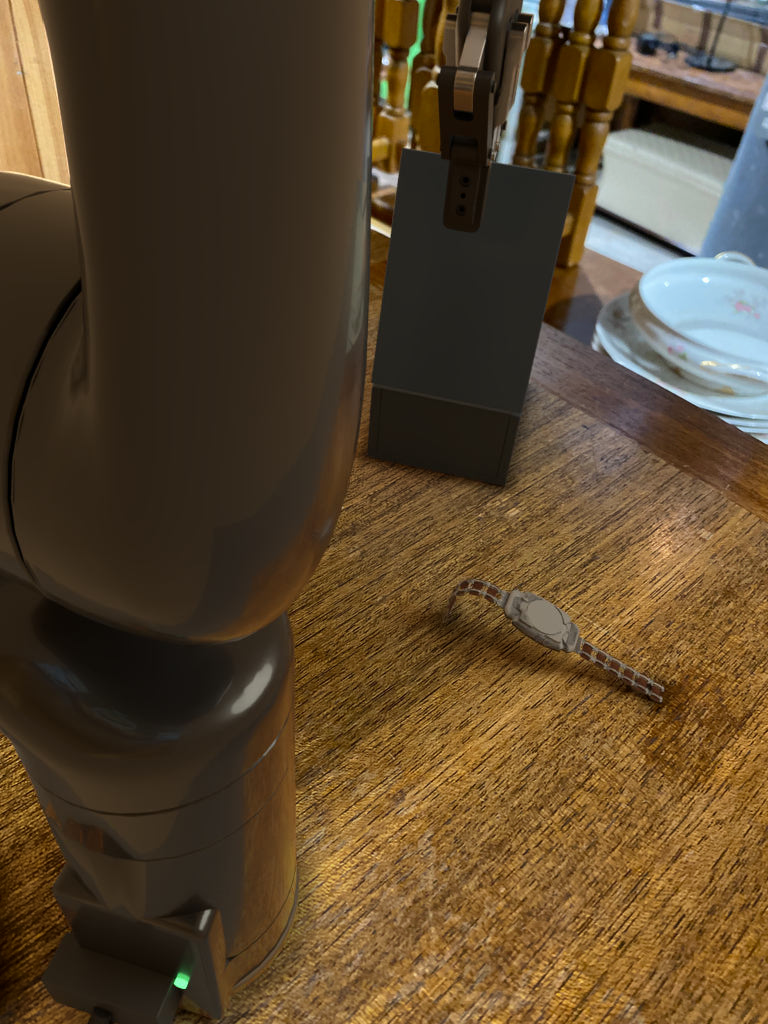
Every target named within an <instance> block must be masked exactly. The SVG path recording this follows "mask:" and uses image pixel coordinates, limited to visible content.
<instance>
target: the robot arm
mask: <svg viewBox="0 0 768 1024" xmlns="http://www.w3.org/2000/svg"><path fill="white" fill-rule="evenodd" d="M37 4H38V8H39V13H40V16H41V21H42V25H43V29H44V33H45V40H46V44H47V45H46V46H47V51H48V57H49V62H50V67H51V73H52V79H53V84H54V89H55V95H56V101H57V106H58V112H59V117H60V124H61V132H62V136H63V144H64V151H65V158H66V165H67V171H68V179H69V184H67V183H63V182H59V181H55V180H52V179H47V178H44V177H40V176H36V175H31V174H27V173H23V172H18V171H10V170H1V169H0V732H1V733H2V735H4V737H6V738H7V739H8V740H9V741H10V742H11V744H12V745H13V748H14V750H15V753H16V755H17V756H18V758H19V760H20V762H21V765H22V766H23V769H24V771H25V773H26V775H27V778H28V781H29V782H30V784H31V787H32V789H33V791H34V793H35V796H36V799H37V801H38V803H39V805H40V807H41V810H42V812H43V814H44V816H45V819H46V821H47V824H48V825H49V828H50V830H51V832H52V834H53V836H54V839H55V841H56V843H57V846H58V847H59V850H60V852H61V855H62V857H63V859H64V861H65V863H64V865H63V867H62V869H61V871H60V872H59V874H58V876H57V878H56V879H55V881H54V883H53V884H52V888H51V892H52V896H53V897H54V899H55V901H56V904H57V905H58V907H59V909H60V911H61V913H62V915H63V917H64V920H65V921H66V923H67V925H68V927H69V928H70V931H71V932H70V931H66V932H65V933H64V935H63V937H62V939H61V941H60V942H59V944H58V946H57V948H56V950H55V952H54V954H53V956H52V957H51V959H50V961H49V963H48V965H47V967H46V969H45V970H44V972H43V974H42V976H41V978H40V982H41V983H42V985H43V986H44V988H45V989H46V991H47V992H48V994H49V995H50V997H51V998H52V1000H53V1002H54V1003H57V1004H60V1005H63V1006H67V1007H69V1008H72V1009H74V1010H77V1011H80V1012H84V1013H85V1014H90V1016H89V1019H88V1021H87V1024H172V1022H173V1020H174V1018H175V1015H176V1013H177V1011H178V1008H179V1009H182V1010H185V1011H187V1012H190V1013H193V1014H196V1015H199V1016H202V1017H206V1018H208V1019H212V1020H215V1021H221V1020H222V1019H224V1018H225V1016H226V1014H227V1011H228V1008H229V1006H230V1003H231V1001H232V999H233V997H234V996H235V994H237V993H239V992H240V991H242V990H244V989H245V988H246V987H248V986H250V985H251V984H252V983H253V982H255V981H256V980H257V979H258V978H259V977H261V975H263V973H264V972H266V970H267V969H268V968H269V967H270V966H271V965H272V964H273V962H274V961H275V960H276V958H277V957H278V956H279V954H280V953H281V951H282V949H283V948H284V946H285V945H286V943H287V940H288V938H289V937H290V935H291V932H292V929H293V927H294V924H295V920H296V917H297V912H298V907H299V899H300V885H299V884H300V876H299V867H298V861H297V859H298V858H297V857H298V856H297V794H296V792H297V791H296V790H297V789H296V785H297V781H296V780H297V779H296V648H295V638H294V631H293V625H292V623H291V622H292V621H291V618H290V615H289V613H288V609H289V608H290V607H291V606H292V604H293V603H295V601H296V600H297V599H298V598H299V596H300V595H301V593H302V592H303V590H304V589H305V588H306V587H307V584H308V583H309V581H310V580H311V579H312V577H313V576H314V575H315V573H316V571H317V569H318V567H319V565H320V564H321V561H322V560H323V557H324V555H325V553H326V551H327V549H328V547H329V545H330V543H331V541H332V539H333V536H334V533H335V530H336V527H337V524H338V522H339V518H340V516H341V513H342V510H343V506H344V503H345V500H346V496H347V493H348V491H349V486H350V481H351V477H352V472H353V469H354V464H355V459H356V454H357V448H358V442H359V437H360V431H361V422H362V413H363V406H364V397H365V388H366V387H365V386H366V374H367V363H368V341H369V340H368V338H369V337H368V336H369V317H370V316H369V313H370V310H369V309H370V289H371V287H370V285H371V239H372V238H371V237H372V235H371V234H372V229H371V228H372V185H373V143H374V141H373V140H374V139H373V137H374V90H375V89H374V87H375V85H374V83H375V39H376V37H375V35H376V34H375V33H376V0H37ZM523 5H524V0H459V3H458V4H457V5H456V7H455V11H454V13H453V12H447V14H446V17H445V20H444V28H443V37H442V47H441V48H442V53H443V56H444V57H445V64H442V65H441V66H440V69H439V72H438V73H437V76H436V83H435V84H436V86H437V102H438V103H437V104H438V105H437V106H438V123H439V152H440V154H441V159H445V160H446V161H450V162H449V170H448V179H447V187H446V195H445V204H444V212H443V224H444V226H445V227H446V228H448V229H451V230H457V231H463V232H469V233H474V232H476V231H478V229H479V228H480V225H481V223H482V221H483V219H484V213H485V207H486V201H487V194H488V188H489V181H490V175H491V168H492V162H495V160H496V156H497V153H498V152H500V149H501V141H500V137H503V134H504V131H506V130H507V126H508V125H507V124H508V120H507V118H508V116H509V113H510V111H511V109H512V108H513V107H514V105H515V101H516V96H517V90H518V85H519V79H520V74H521V68H522V67H521V66H522V63H523V62H522V61H523V56H524V53H525V52H526V51H527V50H528V48H529V46H530V43H531V37H532V32H533V26H534V18H535V13H527V12H522V11H523Z"/></svg>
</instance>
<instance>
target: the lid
mask: <svg viewBox="0 0 768 1024" xmlns="http://www.w3.org/2000/svg"><path fill="white" fill-rule="evenodd" d="M449 162H450V161H446V160H445V159H441V152H433V151H426V150H422V149H421V150H420V149H414V148H408V147H402V148H401V153H400V160H399V167H398V173H397V174H398V175H397V183H396V190H395V198H394V206H393V214H392V221H391V222H392V223H391V230H390V236H389V243H388V249H387V250H388V251H387V258H386V265H385V273H384V282H383V289H382V297H381V305H380V312H379V319H378V327H377V334H376V342H375V347H374V348H375V350H374V357H373V363H372V364H373V365H372V371H371V380H370V383H371V384H372V385H373V384H378V385H383V386H388V387H393V388H398V389H403V390H408V391H413V392H417V393H422V394H427V395H432V396H437V397H442V398H447V399H452V400H457V401H462V402H466V403H471V404H476V405H481V406H486V407H491V408H496V409H501V410H506V411H511V412H515V413H520V414H521V413H523V409H524V405H525V402H526V401H525V400H526V396H527V392H528V387H529V384H530V380H531V374H532V371H533V365H534V362H533V361H535V356H536V354H537V353H536V352H537V348H538V344H539V339H540V335H541V330H542V327H541V326H543V322H544V317H545V313H546V309H547V304H548V300H549V295H550V291H551V287H552V282H553V279H554V273H555V268H556V264H557V261H558V257H559V252H560V248H561V244H562V243H561V242H562V238H563V233H564V230H565V226H566V220H567V217H568V211H569V207H570V204H571V199H572V195H573V190H574V186H575V181H576V177H577V175H576V174H573V173H566V172H560V171H553V170H548V169H547V170H546V169H540V168H534V167H528V166H521V165H515V164H510V163H509V164H508V163H503V162H496V161H493V162H492V168H491V175H490V181H489V188H488V194H487V201H486V207H485V213H484V219H483V221H482V223H481V225H480V228H479V229H478V231H476V232H474V233H469V232H463V231H457V230H451V229H448V228H446V227H445V226H444V224H443V212H444V204H445V195H446V187H447V179H448V170H449ZM528 383H529V384H528ZM521 415H522V414H521Z"/></svg>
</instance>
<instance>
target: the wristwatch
mask: <svg viewBox="0 0 768 1024" xmlns="http://www.w3.org/2000/svg"><path fill="white" fill-rule="evenodd" d="M471 585H472V586H471ZM483 587H484V589H483ZM486 588H487V589H486ZM466 593H468V595H471V596H474V597H479V596H483V599H485V601H488V602H489V603H491V604H493V603H496V605H497V607H499V608H501V609H502V613H503V615H504V617H505V618H506V619H508V620H511V623H510V624H511V625H512V626H513V627H514V628H515V629H516V630H518V632H520V633H521V634H522V635H524V636H525V637H527V638H528V639H529V640H532V641H533V642H535V643H536V644H537V645H540V646H542V647H544V648H545V649H549V650H551V651H554V652H557V653H560V652H561V651H562V652H563V653H565V654H571V653H572V652H573V653H575V654H577V655H579V656H580V658H581V659H583V660H585V661H587V662H592V663H593V665H594V666H595V667H596V668H598V669H600V670H606V671H607V673H608V674H609V676H611V677H614V678H616V679H617V678H619V679H620V680H621V682H622V683H624V684H625V685H627V686H628V687H634V688H635V690H636V691H638V693H640V694H642V695H647V696H648V697H649V699H650V700H652V701H654V702H656V703H658V704H659V703H663V697H662V695H661V693H663V692H665V687H664V686H663V685H662V684H661V683H659V682H657V681H655V680H651V678H650V677H648V676H647V675H646V674H645V673H642V672H641V671H637V670H636V669H635V668H633V666H630V665H628V664H627V663H623V661H622V660H620V659H619V658H617V657H616V656H613V655H610V654H609V653H608V652H607V651H605V650H603V649H602V648H599V647H596V646H595V644H593V643H591V642H590V641H588V640H586V639H584V637H582V636H580V632H581V631H580V627H579V626H578V625H577V623H574V622H572V621H571V619H572V617H571V616H570V615H569V613H567V612H566V611H564V610H562V609H561V608H559V607H558V606H557V605H555V604H553V603H552V602H551V601H549V600H547V599H545V598H543V597H541V596H539V595H537V594H536V593H534V592H530V591H527V590H524V591H523V592H522V591H521V590H519V589H513V590H511V591H510V592H508V591H506V590H505V589H504V590H502V589H501V587H498V586H497V585H496V584H494V583H491V581H490V582H488V581H486V580H484V579H479V578H473V579H471V578H469V579H464V580H461V581H460V582H459V583H458V584H457V585H455V586H454V587H453V588H452V592H451V594H450V596H448V600H447V603H446V609H447V612H446V614H445V615H444V616H443V620H442V623H443V624H446V623H447V622H448V621H449V619H450V616H451V614H452V612H453V610H454V608H455V605H456V602H457V597H461V596H464V595H465V594H466ZM497 594H499V595H500V596H501V597H500V598H499V599H498V598H497ZM592 652H593V655H592ZM606 660H607V662H606ZM620 668H621V669H620ZM633 678H634V679H633ZM647 686H648V687H647Z"/></svg>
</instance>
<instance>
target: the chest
mask: <svg viewBox="0 0 768 1024" xmlns="http://www.w3.org/2000/svg"><path fill="white" fill-rule="evenodd" d="M542 326H543V325H542ZM542 326H541V328H542ZM534 361H535V360H534ZM534 361H533V363H534ZM529 384H530V382H529V383H528V385H529ZM370 393H371V394H370V406H369V407H370V408H369V420H368V432H367V433H368V435H367V449H366V457H368V458H372V459H377V460H381V461H385V462H391V463H395V464H399V465H404V466H410V467H413V468H418V469H423V470H426V471H427V470H428V471H432V472H436V473H441V474H446V475H450V476H455V477H459V478H464V479H467V480H473V481H477V482H481V483H487V484H492V485H496V486H500V487H506V484H507V480H508V476H509V471H510V467H511V462H512V458H513V454H514V450H515V445H516V440H517V436H518V431H519V427H520V423H521V418H522V413H523V412H522V413H521V414H520V413H515V412H511V411H506V410H501V409H496V408H491V407H486V406H481V405H476V404H471V403H466V402H462V401H457V400H452V399H447V398H442V397H437V396H432V395H427V394H422V393H417V392H413V391H408V390H403V389H398V388H393V387H388V386H383V385H378V384H373V383H372V385H371V391H370Z"/></svg>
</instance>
